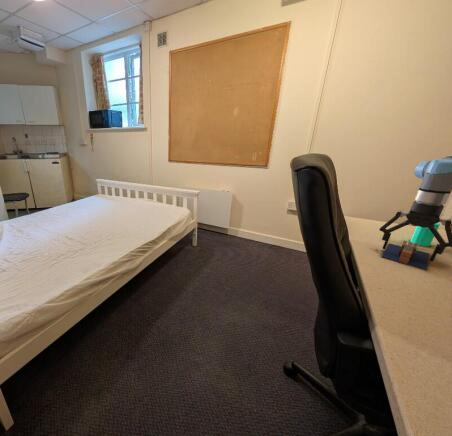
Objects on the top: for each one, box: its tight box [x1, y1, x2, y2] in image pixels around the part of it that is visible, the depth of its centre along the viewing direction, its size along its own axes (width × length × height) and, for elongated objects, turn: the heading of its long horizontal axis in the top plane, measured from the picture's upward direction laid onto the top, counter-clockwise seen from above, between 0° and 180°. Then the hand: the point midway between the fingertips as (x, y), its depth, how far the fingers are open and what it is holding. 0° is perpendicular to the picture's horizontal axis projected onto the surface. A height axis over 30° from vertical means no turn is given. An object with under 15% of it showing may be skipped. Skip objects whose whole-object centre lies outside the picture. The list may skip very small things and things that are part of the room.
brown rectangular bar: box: [398, 240, 419, 265], centre depth 88 cm, size 14×4×4 cm, turn 129°
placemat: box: [381, 242, 430, 271], centre depth 90 cm, size 18×12×1 cm, turn 129°
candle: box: [410, 222, 441, 247], centre depth 98 cm, size 6×6×12 cm
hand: (406, 253), depth 88 cm, fingers open, 12 cm apart
